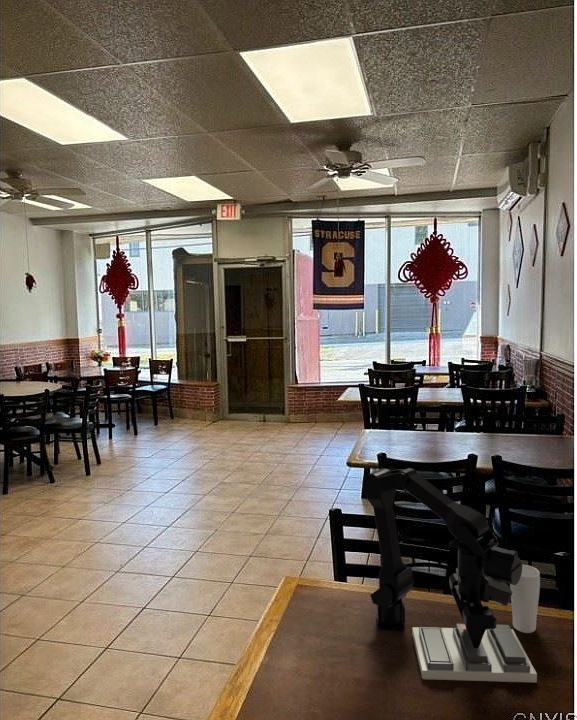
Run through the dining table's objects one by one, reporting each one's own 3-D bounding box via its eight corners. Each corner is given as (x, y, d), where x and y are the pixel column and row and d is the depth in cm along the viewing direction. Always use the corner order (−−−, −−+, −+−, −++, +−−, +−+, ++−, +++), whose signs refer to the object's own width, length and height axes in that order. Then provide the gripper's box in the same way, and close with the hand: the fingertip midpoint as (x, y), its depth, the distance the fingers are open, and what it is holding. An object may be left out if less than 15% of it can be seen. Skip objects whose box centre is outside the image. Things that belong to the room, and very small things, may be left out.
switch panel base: (422, 679, 119) (422, 663, 118) (412, 634, 135) (412, 621, 134) (536, 682, 117) (536, 667, 116) (512, 637, 132) (512, 623, 132)
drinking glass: (542, 637, 132) (543, 578, 131) (512, 634, 133) (513, 576, 132) (535, 621, 139) (536, 564, 137) (507, 619, 140) (507, 563, 138)
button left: (430, 667, 119) (430, 660, 119) (422, 634, 131) (422, 628, 131) (449, 667, 119) (449, 661, 119) (439, 634, 131) (439, 628, 131)
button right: (506, 663, 118) (506, 656, 118) (490, 630, 130) (490, 624, 129) (525, 663, 117) (525, 657, 117) (508, 630, 129) (508, 624, 129)
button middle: (468, 662, 118) (468, 655, 118) (456, 629, 130) (456, 623, 130) (487, 662, 118) (487, 655, 118) (473, 629, 130) (473, 623, 130)
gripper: (522, 591, 112) (521, 662, 114) (496, 551, 131) (495, 612, 133) (466, 590, 113) (466, 661, 115) (448, 550, 132) (448, 611, 134)
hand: (471, 634), depth 124 cm, fingers open, 9 cm apart
